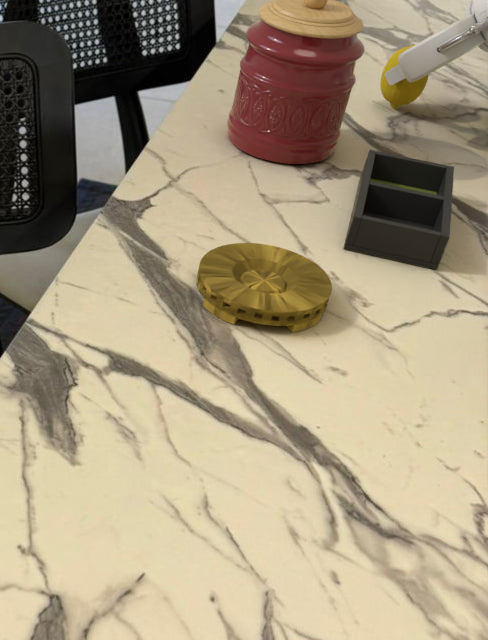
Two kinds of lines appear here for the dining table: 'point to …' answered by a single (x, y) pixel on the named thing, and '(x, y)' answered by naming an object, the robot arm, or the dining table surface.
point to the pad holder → (402, 210)
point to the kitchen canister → (295, 80)
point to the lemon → (400, 85)
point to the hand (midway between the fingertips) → (401, 72)
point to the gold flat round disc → (263, 286)
